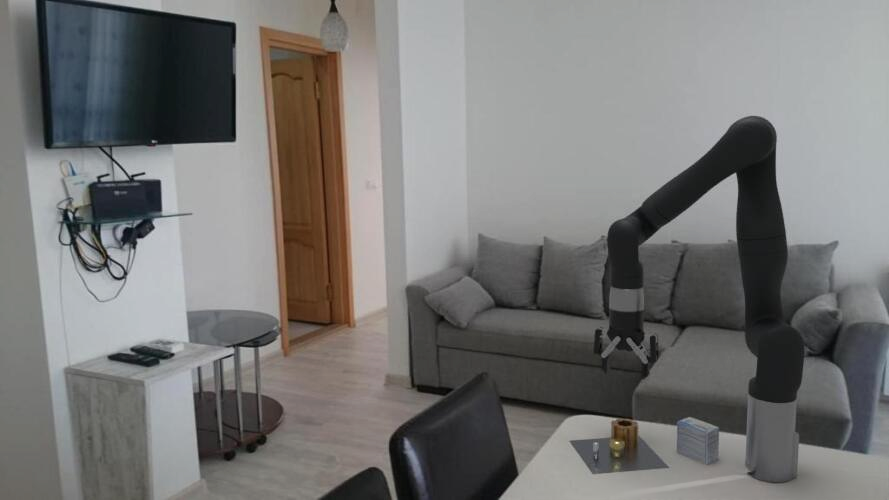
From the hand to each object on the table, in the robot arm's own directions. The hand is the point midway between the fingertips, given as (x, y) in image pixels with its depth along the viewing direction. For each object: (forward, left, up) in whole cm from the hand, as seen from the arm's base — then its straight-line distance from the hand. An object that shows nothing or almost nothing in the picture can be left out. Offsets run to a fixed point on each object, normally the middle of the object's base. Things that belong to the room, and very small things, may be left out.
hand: (625, 375), depth 160 cm
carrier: (+3, +4, -18) cm, 19 cm away
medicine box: (-14, +8, -18) cm, 24 cm away
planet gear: (0, 0, -16) cm, 17 cm away
